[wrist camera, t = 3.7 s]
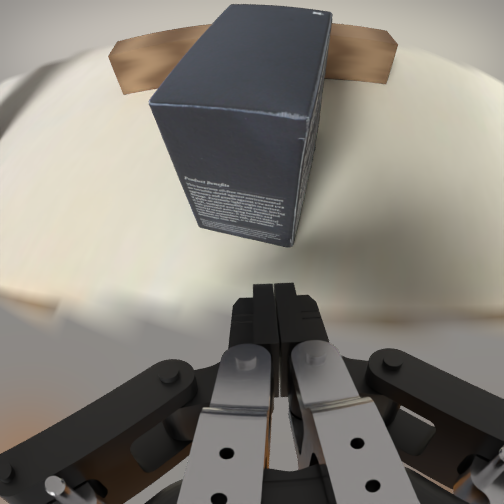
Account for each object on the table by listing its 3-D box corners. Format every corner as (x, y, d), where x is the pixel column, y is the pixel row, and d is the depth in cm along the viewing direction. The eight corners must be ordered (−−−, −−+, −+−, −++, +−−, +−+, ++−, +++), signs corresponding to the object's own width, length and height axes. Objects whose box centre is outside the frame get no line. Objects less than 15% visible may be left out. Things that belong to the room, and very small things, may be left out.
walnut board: (123, 94, 26) (108, 56, 21) (130, 78, 27) (117, 41, 22) (386, 83, 25) (397, 44, 20) (376, 68, 26) (386, 30, 22)
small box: (238, 116, 23) (227, -1, 14) (318, 130, 22) (337, 10, 13) (191, 228, 19) (137, 98, 10) (293, 251, 18) (320, 118, 9)
